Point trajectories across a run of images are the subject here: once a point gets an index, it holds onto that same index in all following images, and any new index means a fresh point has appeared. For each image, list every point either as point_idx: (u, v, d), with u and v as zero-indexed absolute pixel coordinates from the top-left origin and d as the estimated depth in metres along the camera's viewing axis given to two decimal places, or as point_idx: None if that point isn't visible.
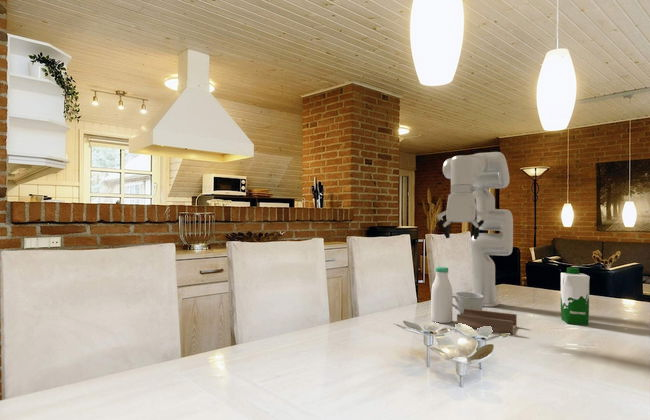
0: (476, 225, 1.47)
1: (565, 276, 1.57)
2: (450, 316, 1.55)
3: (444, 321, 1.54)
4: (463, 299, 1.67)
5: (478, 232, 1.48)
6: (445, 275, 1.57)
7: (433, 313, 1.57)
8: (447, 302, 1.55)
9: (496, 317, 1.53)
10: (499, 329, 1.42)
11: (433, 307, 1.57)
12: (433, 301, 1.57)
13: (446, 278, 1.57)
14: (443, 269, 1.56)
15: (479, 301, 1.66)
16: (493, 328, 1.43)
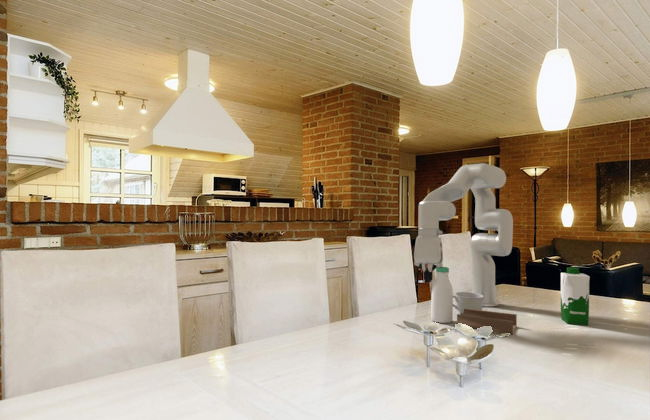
0: (429, 269, 1.59)
1: (565, 276, 1.57)
2: (450, 316, 1.55)
3: (444, 321, 1.54)
4: (463, 299, 1.67)
5: (431, 276, 1.60)
6: (446, 275, 1.56)
7: (433, 313, 1.57)
8: (447, 302, 1.55)
9: (496, 317, 1.53)
10: (499, 329, 1.42)
11: (433, 307, 1.57)
12: (433, 301, 1.57)
13: (446, 278, 1.56)
14: (444, 269, 1.56)
15: (479, 301, 1.66)
16: (493, 328, 1.43)
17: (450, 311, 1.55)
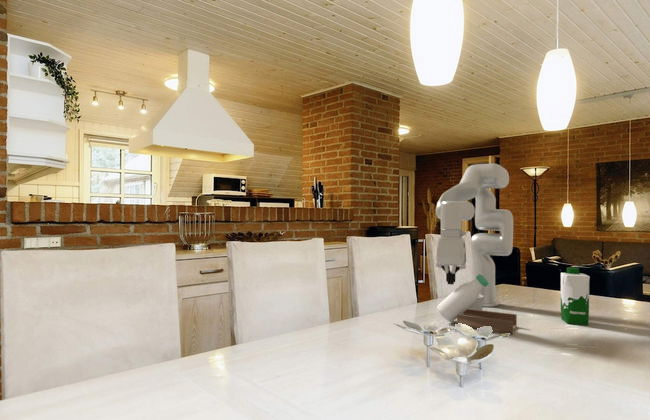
0: (452, 271, 1.55)
1: (565, 276, 1.57)
2: (455, 318, 1.54)
3: (447, 318, 1.54)
4: None
5: (454, 278, 1.56)
6: (481, 287, 1.50)
7: (444, 305, 1.55)
8: (462, 308, 1.52)
9: (496, 317, 1.53)
10: (499, 329, 1.42)
11: (448, 301, 1.54)
12: (452, 297, 1.53)
13: (479, 290, 1.51)
14: (484, 282, 1.49)
15: (479, 301, 1.66)
16: (493, 328, 1.43)
17: None
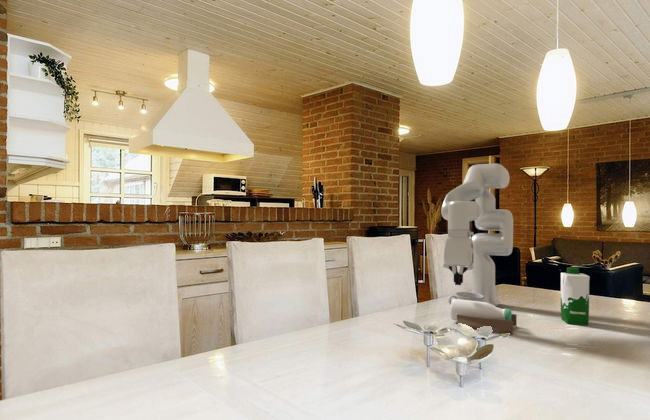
0: (460, 272, 1.54)
1: (565, 276, 1.57)
2: None
3: (452, 314, 1.54)
4: (463, 299, 1.67)
5: (462, 278, 1.55)
6: (501, 319, 1.47)
7: (459, 303, 1.54)
8: None
9: None
10: (499, 329, 1.42)
11: (466, 304, 1.53)
12: (472, 304, 1.52)
13: None
14: (508, 318, 1.46)
15: (479, 301, 1.66)
16: (493, 328, 1.43)
17: None
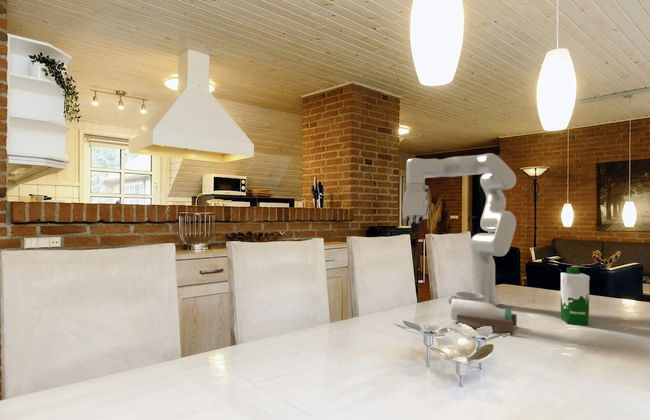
0: (416, 221, 1.74)
1: (565, 276, 1.57)
2: None
3: (452, 314, 1.54)
4: (463, 299, 1.67)
5: (418, 227, 1.74)
6: (501, 319, 1.47)
7: (459, 303, 1.54)
8: None
9: None
10: (499, 329, 1.42)
11: (466, 304, 1.53)
12: (472, 304, 1.52)
13: None
14: (508, 318, 1.46)
15: (479, 301, 1.66)
16: (493, 328, 1.43)
17: None
